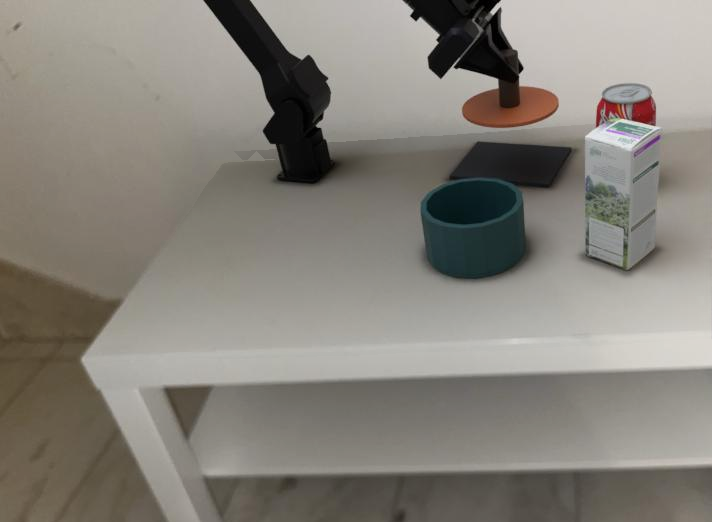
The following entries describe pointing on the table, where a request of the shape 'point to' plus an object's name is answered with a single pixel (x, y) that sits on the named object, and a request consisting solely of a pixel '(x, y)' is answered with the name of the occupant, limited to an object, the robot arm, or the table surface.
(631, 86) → the soda can
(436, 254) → the round pot
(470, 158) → the mat
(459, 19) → the robot arm
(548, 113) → the lid
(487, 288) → the table surface
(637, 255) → the syrup box
